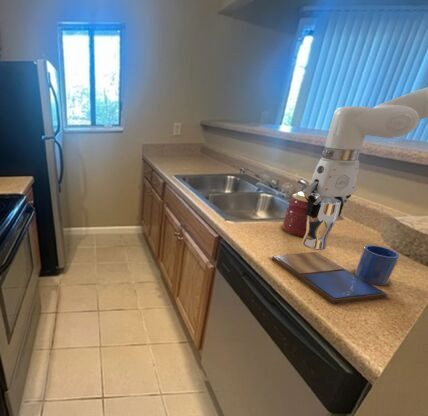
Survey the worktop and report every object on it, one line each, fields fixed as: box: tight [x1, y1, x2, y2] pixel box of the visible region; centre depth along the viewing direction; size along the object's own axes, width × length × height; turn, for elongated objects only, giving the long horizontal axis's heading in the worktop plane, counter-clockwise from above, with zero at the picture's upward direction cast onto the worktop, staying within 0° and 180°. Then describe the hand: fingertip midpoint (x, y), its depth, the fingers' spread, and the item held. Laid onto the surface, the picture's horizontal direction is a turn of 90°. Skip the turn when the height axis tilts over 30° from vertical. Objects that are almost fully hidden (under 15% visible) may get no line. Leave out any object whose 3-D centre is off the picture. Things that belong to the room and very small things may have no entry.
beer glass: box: [300, 196, 341, 251], centre depth 81 cm, size 7×7×15 cm
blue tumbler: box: [354, 244, 400, 286], centre depth 79 cm, size 7×7×9 cm
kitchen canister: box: [282, 191, 308, 238], centre depth 107 cm, size 13×13×18 cm
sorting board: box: [271, 251, 388, 305], centre depth 81 cm, size 16×22×1 cm
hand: (322, 214), depth 80 cm, fingers closed on beer glass, 7 cm apart
